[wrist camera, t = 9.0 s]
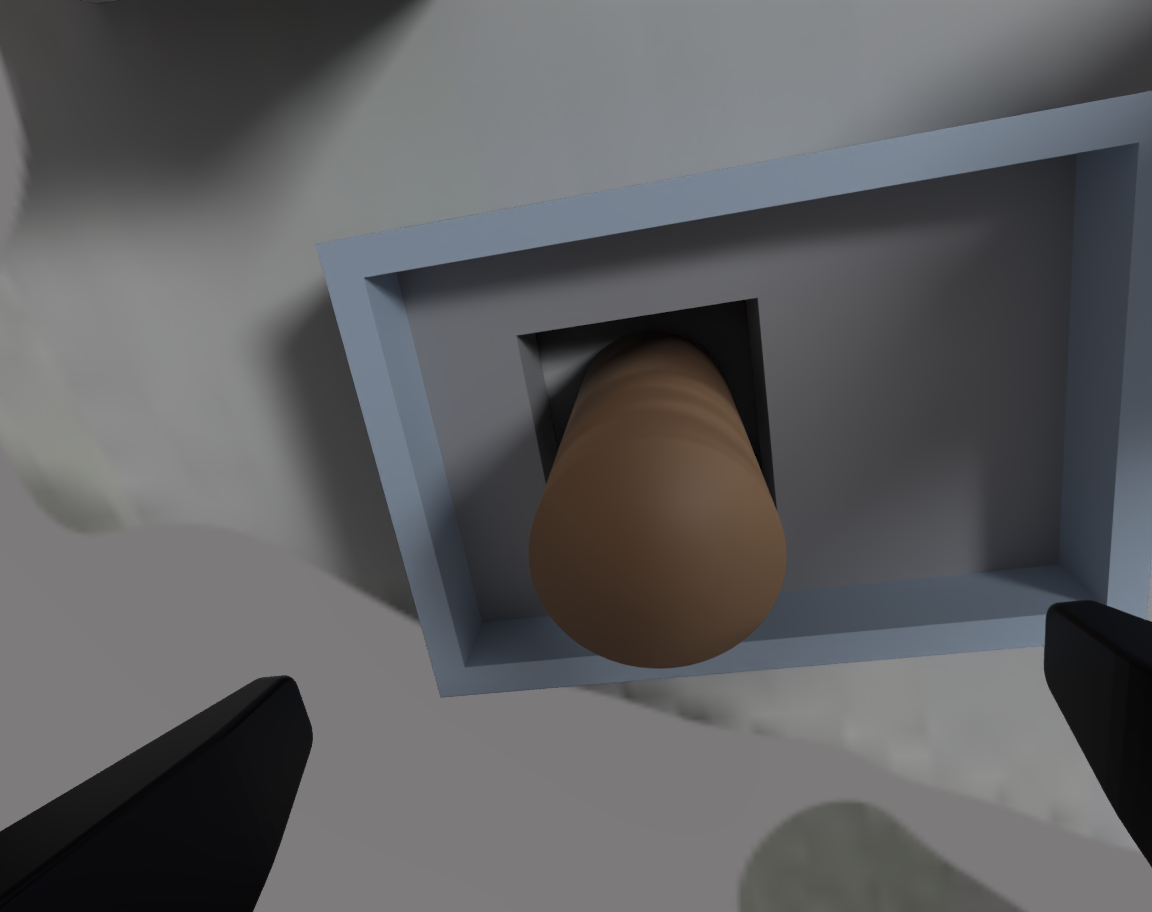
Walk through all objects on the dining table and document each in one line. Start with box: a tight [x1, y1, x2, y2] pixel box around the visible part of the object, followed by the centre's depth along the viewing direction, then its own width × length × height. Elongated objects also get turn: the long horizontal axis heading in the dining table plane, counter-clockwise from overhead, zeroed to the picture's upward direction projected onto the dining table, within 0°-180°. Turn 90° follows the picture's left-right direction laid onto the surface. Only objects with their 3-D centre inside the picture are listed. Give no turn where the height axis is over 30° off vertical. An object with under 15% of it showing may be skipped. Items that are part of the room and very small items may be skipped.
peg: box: [529, 330, 786, 669], centre depth 16 cm, size 4×4×9 cm
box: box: [316, 91, 1152, 697], centre depth 18 cm, size 16×11×4 cm
